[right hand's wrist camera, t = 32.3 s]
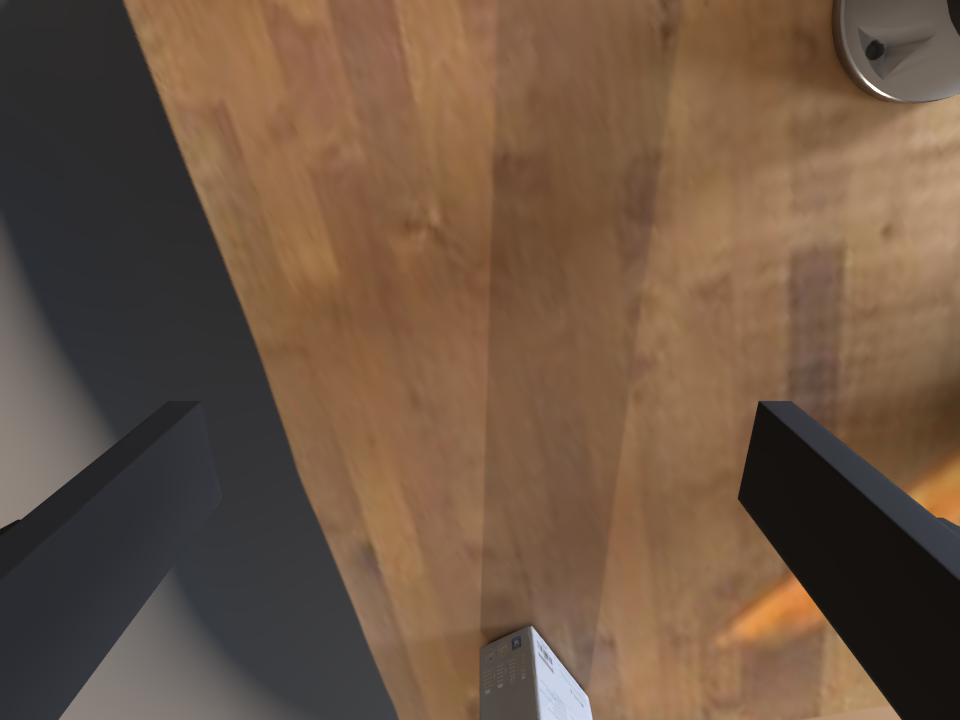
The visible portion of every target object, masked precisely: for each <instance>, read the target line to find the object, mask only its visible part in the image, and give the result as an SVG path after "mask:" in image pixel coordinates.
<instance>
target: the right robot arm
mask: <svg viewBox="0 0 960 720" xmlns="http://www.w3.org/2000/svg"><path fill="white" fill-rule="evenodd" d="M832 30H833V39H834V44H835V48H836V51H837V55H838V57H839V60H840V62H841V64H842V66H843V68H844V70H845V71H846V73H847V74H848V76H849V77H850V78H851V80H852V81H853V82H854V83H855V84H856V85H857V86H858V87H859V88H861V89H862V90H863V91H864V92H866V93H868V94H869V95H871V96H873V97H875V98H878V99H880V100H883V101H887V102H892V103H899V104H912V103H923V102H930V101H937V100H941V99H945V98H948V97H951V96H954V95H957V94H960V0H834V2H833V11H832ZM221 500H222V495H221V491H220V486H219V481H218V477H217V472H216V468H215V463H214V458H213V453H212V449H211V444H210V439H209V435H208V430H207V426H206V421H205V416H204V412H203V407H202V402H201V401H168V402H167V403H166V404H165V405H163V406H162V407H161V408H160V409H158V410H157V411H156V412H155V413H153V414H152V415H151V416H150V417H148V418H147V419H146V420H145V421H143V422H142V423H141V424H140V425H138V426H137V427H136V428H135V429H134V430H132V431H131V432H130V433H129V434H127V435H126V436H125V437H124V438H122V439H121V440H120V441H119V442H117V443H116V444H115V445H114V446H112V447H111V448H110V449H109V450H107V451H106V452H105V453H104V454H102V455H101V456H100V457H99V458H97V459H96V460H95V461H94V462H92V463H91V464H90V465H89V466H87V467H86V468H85V469H84V470H82V471H81V472H80V473H79V474H78V475H76V476H75V477H74V478H72V479H71V480H70V481H69V482H67V483H66V484H65V485H64V486H63V487H61V488H60V489H59V490H58V491H56V492H55V493H54V494H53V495H51V496H50V497H49V498H48V499H46V500H45V501H44V502H43V503H41V504H40V505H39V506H38V507H36V508H35V509H34V510H33V511H31V512H30V513H29V514H28V515H26V516H25V517H24V518H23V519H21V520H16V521H14V522H13V523H11V524H9V525H7V526H5V527H3V528H1V529H0V720H59V718H60V717H61V715H62V714H63V713H64V711H65V710H66V709H67V707H68V706H69V705H70V703H71V702H72V701H73V699H74V698H75V697H76V695H77V694H78V693H79V691H80V690H81V689H82V687H83V686H84V684H85V683H86V682H87V680H88V679H89V678H90V676H91V675H92V674H93V672H94V671H95V670H96V668H97V667H98V666H99V664H100V663H101V662H102V660H103V659H104V657H105V656H106V655H107V653H108V652H109V651H110V649H111V648H112V647H113V645H114V644H115V643H116V641H117V640H118V639H119V637H120V636H121V635H122V633H123V632H124V631H125V629H126V628H127V627H128V625H129V624H130V622H131V621H132V620H133V618H134V617H135V616H136V614H137V613H138V612H139V610H140V609H141V608H142V606H143V605H144V604H145V602H146V601H147V600H148V598H149V597H150V596H151V594H152V593H153V591H154V590H155V589H156V587H157V586H158V585H159V583H160V582H161V581H162V579H163V578H164V577H165V575H166V574H167V573H168V571H169V570H170V569H171V567H172V566H173V564H174V563H175V562H176V560H177V559H178V558H179V556H180V555H181V554H182V552H183V551H184V550H185V548H186V547H187V546H188V544H189V543H190V542H191V540H192V539H193V538H194V536H195V535H196V534H197V532H198V531H199V529H200V528H201V527H202V525H203V524H204V523H205V521H206V520H207V519H208V517H209V516H210V515H211V513H212V512H213V511H214V509H215V508H216V507H217V505H218V504H219V503H220V501H221ZM738 500H739V501H740V503H741V504H742V505H743V507H744V508H745V509H746V511H747V512H748V513H749V515H750V516H751V517H752V519H753V520H754V521H755V523H756V524H757V525H758V527H759V528H760V529H761V531H762V532H763V534H764V535H765V536H766V538H767V539H768V540H769V542H770V543H771V544H772V546H773V547H774V548H775V550H776V551H777V552H778V554H779V555H780V556H781V558H782V559H783V560H784V562H785V563H786V565H787V566H788V567H789V569H790V570H791V571H792V573H793V574H794V575H795V577H796V578H797V579H798V581H799V582H800V583H801V585H802V586H803V587H804V589H805V590H806V591H807V593H808V594H809V596H810V597H811V598H812V600H813V601H814V602H815V604H816V605H817V606H818V608H819V609H820V610H821V612H822V613H823V614H824V616H825V617H826V618H827V620H828V621H829V622H830V624H831V625H832V627H833V628H834V629H835V631H836V632H837V633H838V635H839V636H840V637H841V639H842V640H843V641H844V643H845V644H846V645H847V647H848V648H849V649H850V651H851V652H852V654H853V655H854V656H855V658H856V659H857V660H858V662H859V663H860V664H861V666H862V667H863V668H864V670H865V671H866V672H867V674H868V675H869V676H870V678H871V679H872V680H873V682H874V683H875V685H876V686H877V687H878V689H879V690H880V691H881V693H882V694H883V695H884V697H885V698H886V699H887V701H888V702H889V703H890V705H891V706H892V707H893V709H894V710H895V711H896V713H897V714H898V715H899V717H900V718H901V719H902V720H960V527H959V526H957V525H956V524H954V523H952V522H950V521H948V520H946V519H944V518H936V517H935V516H934V515H932V514H931V513H930V512H929V511H927V510H926V509H925V508H924V507H922V506H921V505H920V504H919V503H917V502H916V501H915V500H914V499H912V498H911V497H910V496H909V495H907V494H906V493H905V492H904V491H902V490H901V489H900V488H899V487H897V486H896V485H895V484H894V483H893V482H891V481H890V480H889V479H888V478H886V477H885V476H884V475H883V474H881V473H880V472H879V471H878V470H876V469H875V468H874V467H873V466H871V465H870V464H869V463H868V462H866V461H865V460H864V459H863V458H861V457H860V456H859V455H858V454H856V453H855V452H854V451H853V450H851V449H850V448H849V447H848V446H846V445H845V444H844V443H843V442H841V441H840V440H839V439H838V438H836V437H835V436H834V435H833V434H831V433H830V432H829V431H828V430H826V429H825V428H824V427H823V426H822V425H820V424H819V423H818V422H817V421H815V420H814V419H813V418H812V417H810V416H809V415H808V414H807V413H805V412H804V411H803V410H802V409H800V408H799V407H798V406H797V405H795V404H794V403H793V402H792V401H759V402H758V407H757V411H756V416H755V421H754V425H753V430H752V435H751V439H750V444H749V449H748V453H747V458H746V463H745V467H744V472H743V477H742V481H741V486H740V491H739V495H738Z"/></svg>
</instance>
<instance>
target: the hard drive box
mask: <svg viewBox="0 0 960 720" xmlns="http://www.w3.org/2000/svg"><path fill="white" fill-rule="evenodd" d="M480 720H593V718H592V713H591V708H590V703H589V698H588V697H587V695H586V694H585V693H584V692H583V690H582V689H581V688H580V686H579V685H578V684H577V682H576V681H575V680H574V679H573V677H572V676H571V675H570V674H569V673H568V671H567V670H566V669H565V667H564V666H563V665H562V664H561V662H560V661H559V660H558V659H557V657H556V656H555V655H554V653H553V652H552V651H551V650H550V648H549V646H548V645H547V644H546V643H545V642H544V640H543V639H542V638H541V637H540V636H539V634H538V633H537V632H536V631H535V629H534V628H533V627H532V626H530V627H529V626H527V627H525V628H523V629H520V630H518V631H516V632H514V633H512V634H510V635H507V636H505V637H503V638H501V639H499V640H497V641H494V642H492V643H490V644H488V645H486V646H484V647H481V648H480Z"/></svg>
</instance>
